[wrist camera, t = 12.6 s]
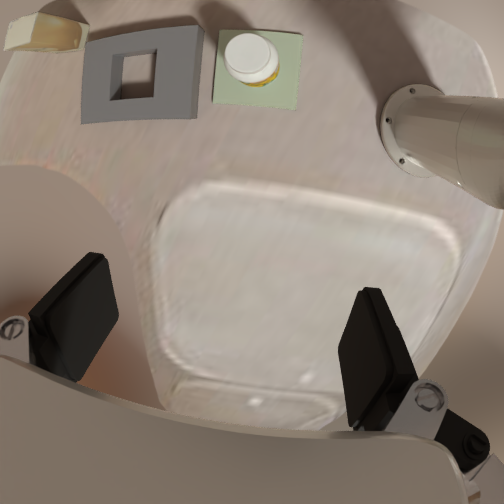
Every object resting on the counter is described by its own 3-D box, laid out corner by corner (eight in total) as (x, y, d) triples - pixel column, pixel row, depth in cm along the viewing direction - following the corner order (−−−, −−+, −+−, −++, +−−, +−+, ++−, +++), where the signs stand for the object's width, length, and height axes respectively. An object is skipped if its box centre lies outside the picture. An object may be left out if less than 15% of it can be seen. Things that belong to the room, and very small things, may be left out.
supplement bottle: (281, 49, 28) (281, 28, 19) (277, 90, 30) (275, 82, 22) (236, 46, 28) (220, 25, 20) (232, 86, 31) (214, 78, 22)
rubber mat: (302, 36, 27) (303, 35, 27) (295, 110, 32) (295, 110, 31) (220, 30, 27) (219, 29, 27) (213, 103, 32) (212, 103, 32)
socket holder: (204, 30, 28) (198, 25, 25) (196, 118, 33) (190, 119, 31) (97, 45, 28) (85, 42, 26) (93, 122, 34) (81, 124, 31)
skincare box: (56, 54, 28) (0, 52, 18) (62, 29, 26) (8, 22, 16) (85, 49, 28) (29, 43, 18) (92, 24, 26) (37, 10, 16)
